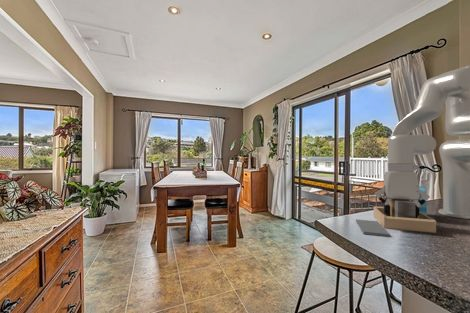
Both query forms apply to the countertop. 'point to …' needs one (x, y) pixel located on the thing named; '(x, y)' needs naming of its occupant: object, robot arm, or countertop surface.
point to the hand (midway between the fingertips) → (401, 215)
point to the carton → (405, 221)
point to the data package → (424, 206)
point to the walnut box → (402, 208)
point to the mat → (372, 228)
